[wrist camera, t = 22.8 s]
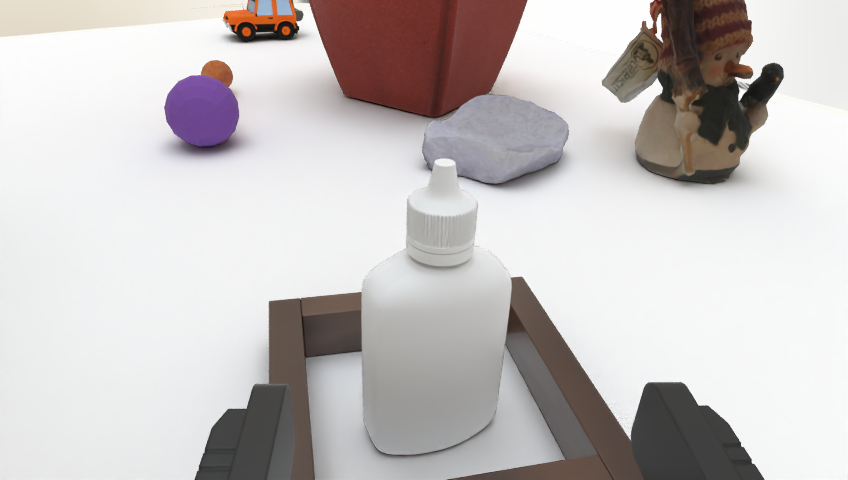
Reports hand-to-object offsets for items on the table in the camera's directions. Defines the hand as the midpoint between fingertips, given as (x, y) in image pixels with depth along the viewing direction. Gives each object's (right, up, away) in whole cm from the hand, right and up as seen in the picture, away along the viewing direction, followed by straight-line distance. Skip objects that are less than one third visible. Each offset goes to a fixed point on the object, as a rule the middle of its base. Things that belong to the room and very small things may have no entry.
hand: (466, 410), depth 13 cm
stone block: (+6, +11, +39) cm, 41 cm away
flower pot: (-2, +20, +55) cm, 59 cm away
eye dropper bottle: (-1, -4, +12) cm, 13 cm away
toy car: (-26, +35, +79) cm, 90 cm away
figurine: (+21, +11, +40) cm, 47 cm away
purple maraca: (-22, +16, +45) cm, 53 cm away
